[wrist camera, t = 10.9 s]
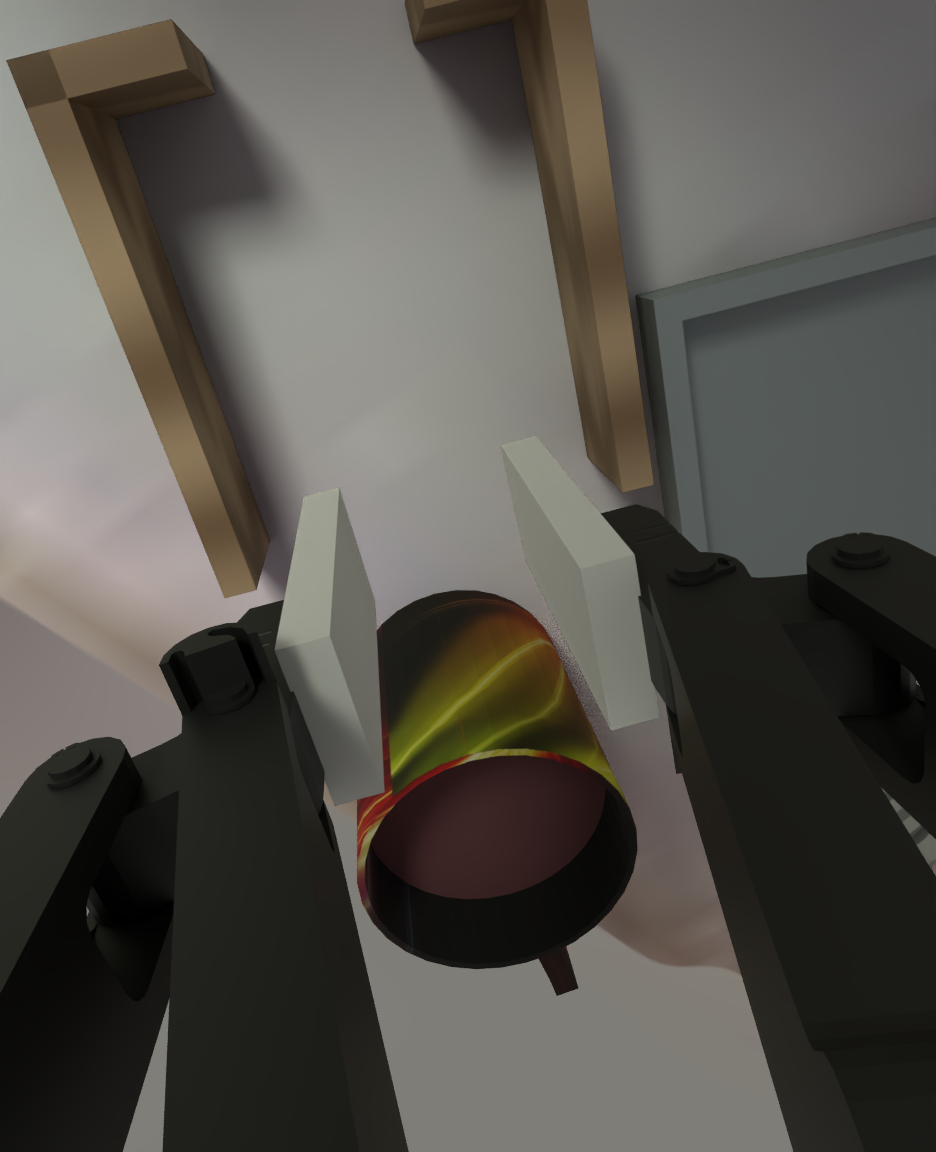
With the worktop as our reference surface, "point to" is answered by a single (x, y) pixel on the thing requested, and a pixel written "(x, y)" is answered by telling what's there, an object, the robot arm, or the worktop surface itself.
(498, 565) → the worktop surface
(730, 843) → the robot arm
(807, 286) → the tray
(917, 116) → the worktop surface
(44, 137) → the wooden frame
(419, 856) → the mug
